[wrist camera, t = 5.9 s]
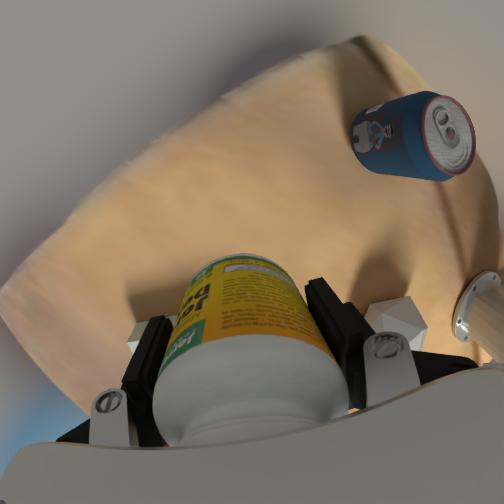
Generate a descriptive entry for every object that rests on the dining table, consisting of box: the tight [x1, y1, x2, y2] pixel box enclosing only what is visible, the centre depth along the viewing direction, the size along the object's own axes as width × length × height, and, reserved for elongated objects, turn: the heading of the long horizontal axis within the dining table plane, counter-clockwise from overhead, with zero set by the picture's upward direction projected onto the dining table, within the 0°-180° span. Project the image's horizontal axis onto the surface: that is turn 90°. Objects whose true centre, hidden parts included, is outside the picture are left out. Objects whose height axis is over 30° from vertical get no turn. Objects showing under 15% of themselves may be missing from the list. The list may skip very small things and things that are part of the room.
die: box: [364, 296, 428, 351], centre depth 28 cm, size 8×9×10 cm
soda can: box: [350, 91, 476, 181], centre depth 20 cm, size 7×7×12 cm
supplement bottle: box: [153, 253, 349, 447], centre depth 8 cm, size 5×5×10 cm
